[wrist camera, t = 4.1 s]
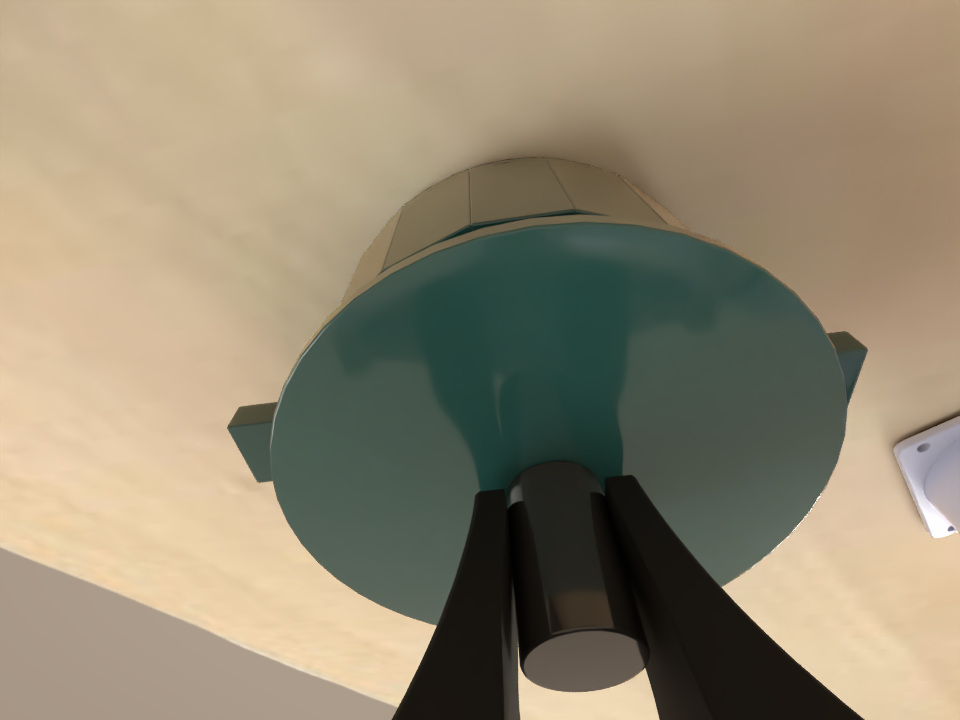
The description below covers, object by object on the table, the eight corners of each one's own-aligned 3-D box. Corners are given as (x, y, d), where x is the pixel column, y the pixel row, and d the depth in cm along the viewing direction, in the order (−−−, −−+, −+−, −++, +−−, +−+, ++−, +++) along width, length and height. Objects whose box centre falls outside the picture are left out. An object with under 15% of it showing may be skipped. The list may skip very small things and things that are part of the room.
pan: (215, 202, 16) (115, 274, 11) (815, 113, 15) (970, 152, 10) (336, 482, 23) (305, 595, 18) (745, 435, 22) (817, 542, 17)
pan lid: (181, 256, 10) (-28, 427, 6) (900, 153, 9) (1272, 265, 5) (364, 622, 18) (332, 811, 13) (764, 583, 17) (864, 771, 13)
